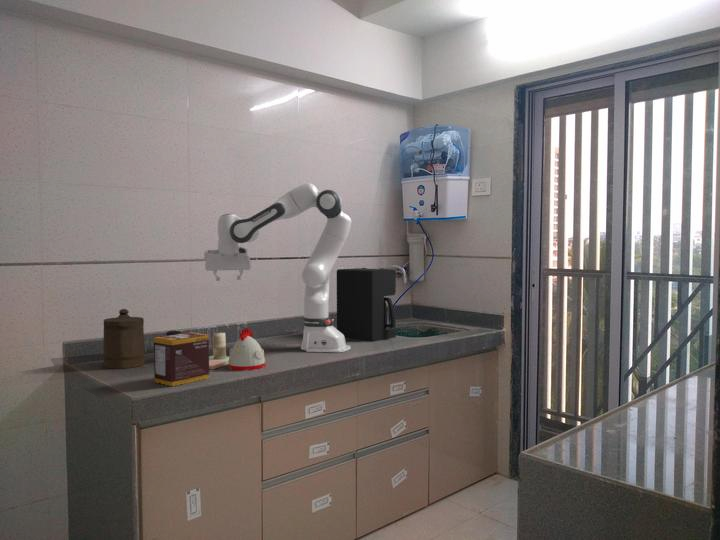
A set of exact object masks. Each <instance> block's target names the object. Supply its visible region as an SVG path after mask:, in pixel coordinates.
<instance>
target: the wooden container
mask: <svg viewBox="0 0 720 540" xmlns="http://www.w3.org/2000/svg"><path fill="white" fill-rule="evenodd" d="M118 313H119V315H118V316H117V317H111V318H110V317H109V318H105V319H103V366H104V368H107V369H113V370H114V369H116V370H117V369H130V368H135V367H136V368H137V367H141V366H143V365H145V363H146V362H145V361H146V360H145V357H146V356H145V354H146V353H145V350H146V349H145V331H144V328H145V327H144V325H145V324H144V322H145V321H144V317H141V316H130V315H129V310H128V309H126V308H122V309H120V310H119V311H118Z"/></svg>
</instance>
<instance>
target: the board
mask: <svg viewBox="0 0 720 540" xmlns="http://www.w3.org/2000/svg"><path fill="white" fill-rule="evenodd" d="M229 357H230V356H227V355H226V358H225V359H213V355H209V370H215V369H217V368H221V367H223V366H226V365H228V362H229Z"/></svg>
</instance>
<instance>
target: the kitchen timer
mask: <svg viewBox="0 0 720 540" xmlns="http://www.w3.org/2000/svg"><path fill="white" fill-rule="evenodd" d="M253 335H254V332H252V330H251V329H249V327H246V328H244V329H241V333H239V339H238V340H236V342H235V344H234V345H233V347H232V348H230V349H229V351H228V353H229V354H228V355H229V362H228V364H227V365H228V369H229V370H232V371H238V370H239V371H241V372H243V371H242V370H248V371H255V370H254V369H257V370H261V369H264V368H265V367H266V359H265V351H264V349H263V348H262V347H261V345H260V344H259V343H258V341H257V340H256V339H255V338H253ZM263 367H264V368H263ZM260 368H261V369H260Z"/></svg>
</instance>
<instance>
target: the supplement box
mask: <svg viewBox="0 0 720 540" xmlns="http://www.w3.org/2000/svg"><path fill="white" fill-rule="evenodd" d="M209 340H210V335H209V334H206V333H205V334H204V333H198V332H194V331H190V332H185V333H183V332H182V334H175V335H168V336H166V335H164V336H163V335H162V336H156V337H153V359H154V360H153V361H154V362H153V363H154V364H153V365H154V368H153V369H154V372H153V373H154V383H155V382H157V383H156V384H159V383H161V385H163V384H165V386H167V385H169V387H171V386H172V387H176V386H175V385H177V386H181V385H180V384H182V385H186V384H190V382H191V383H195V382H194V381H196V382H198V380H200V381H204V380H203V379H205V380H209V379H210V369H209V357H210V341H209ZM208 378H209V379H208ZM185 383H186V384H185Z"/></svg>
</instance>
